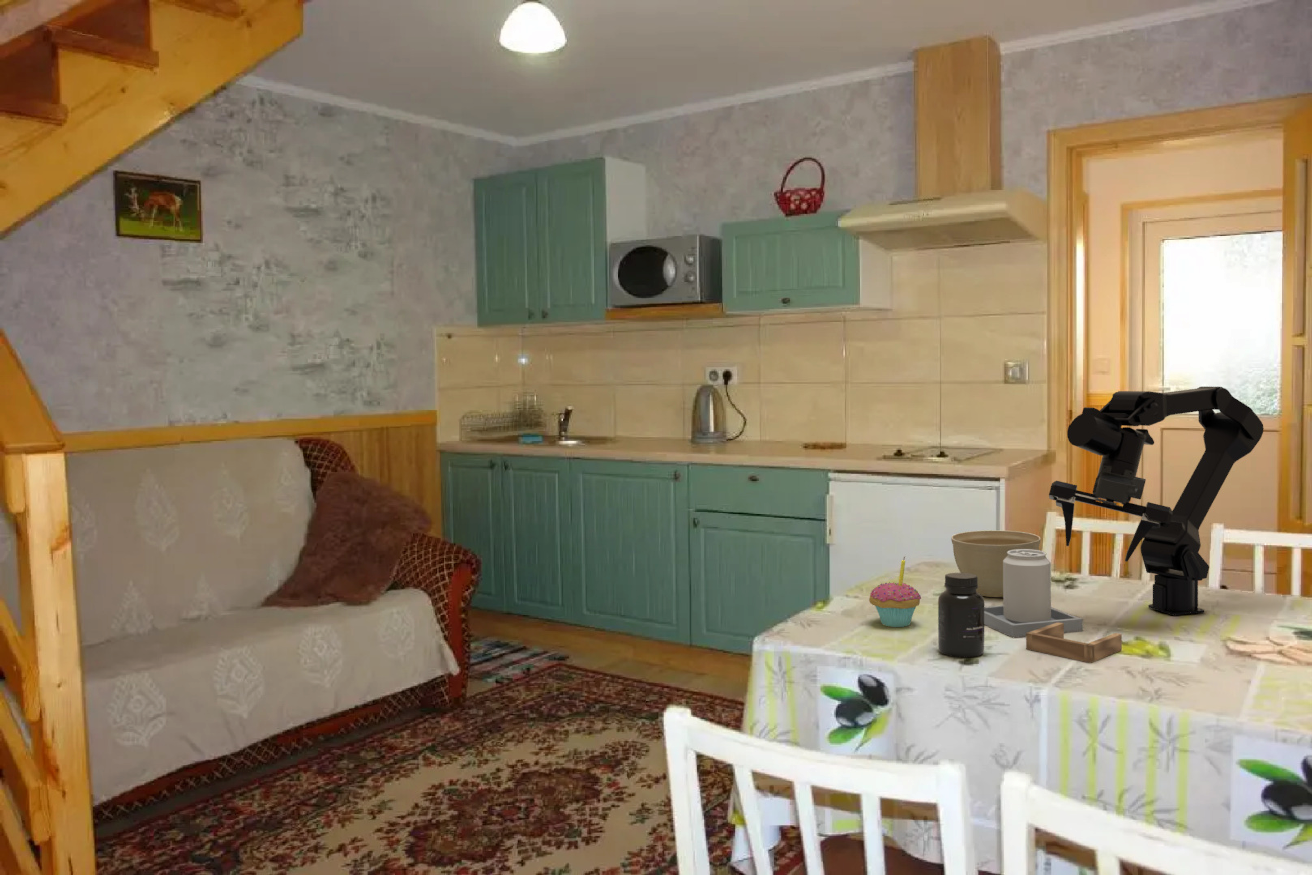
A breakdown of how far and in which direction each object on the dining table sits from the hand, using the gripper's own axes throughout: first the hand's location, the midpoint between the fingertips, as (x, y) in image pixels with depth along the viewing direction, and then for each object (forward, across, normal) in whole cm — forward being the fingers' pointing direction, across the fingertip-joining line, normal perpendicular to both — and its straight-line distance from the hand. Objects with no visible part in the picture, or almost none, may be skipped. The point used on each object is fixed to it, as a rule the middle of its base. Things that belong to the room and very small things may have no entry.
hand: (1096, 553), depth 170 cm
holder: (+16, 0, -12) cm, 20 cm away
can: (+14, -8, 0) cm, 16 cm away
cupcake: (+21, -28, -4) cm, 35 cm away
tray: (+15, -8, 0) cm, 17 cm away
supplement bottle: (+22, -15, -18) cm, 32 cm away
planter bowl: (+11, -15, +23) cm, 30 cm away
